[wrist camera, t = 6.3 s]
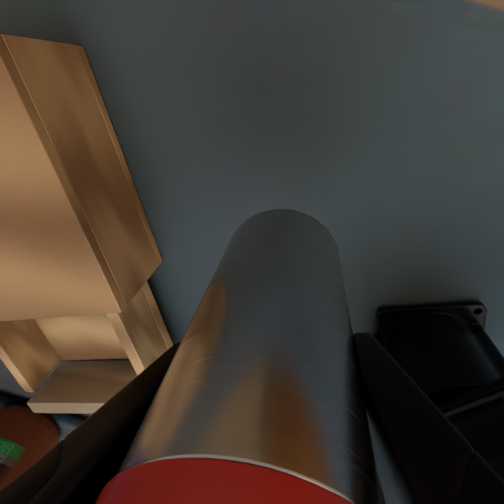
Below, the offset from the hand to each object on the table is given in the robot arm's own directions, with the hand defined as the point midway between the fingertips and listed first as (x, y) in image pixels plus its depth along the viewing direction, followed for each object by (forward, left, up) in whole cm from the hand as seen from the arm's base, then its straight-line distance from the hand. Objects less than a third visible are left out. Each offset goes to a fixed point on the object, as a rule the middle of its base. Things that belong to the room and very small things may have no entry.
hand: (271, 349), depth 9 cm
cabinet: (+16, -4, -12) cm, 21 cm away
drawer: (+16, +9, -11) cm, 22 cm away
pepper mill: (0, 0, -5) cm, 5 cm away
